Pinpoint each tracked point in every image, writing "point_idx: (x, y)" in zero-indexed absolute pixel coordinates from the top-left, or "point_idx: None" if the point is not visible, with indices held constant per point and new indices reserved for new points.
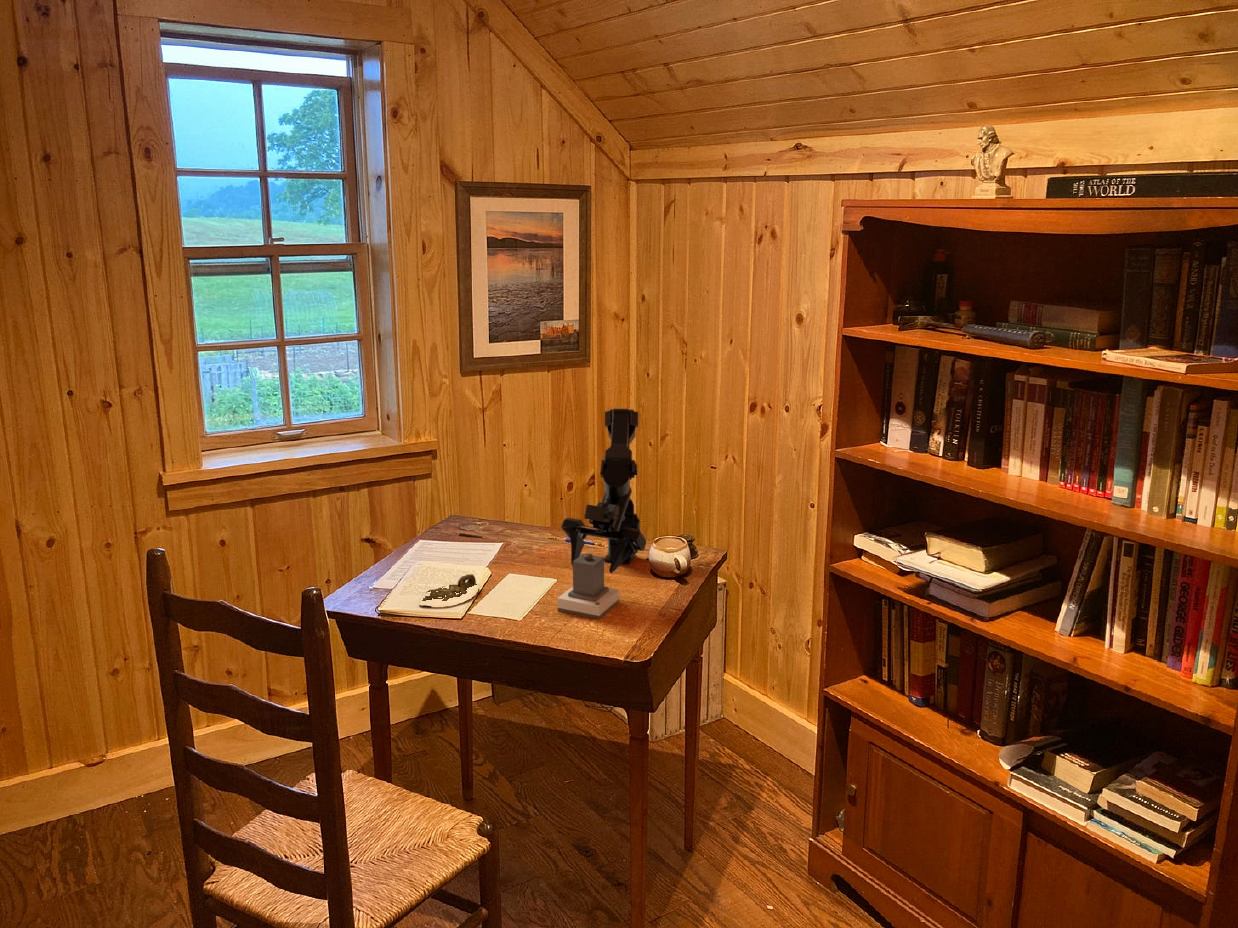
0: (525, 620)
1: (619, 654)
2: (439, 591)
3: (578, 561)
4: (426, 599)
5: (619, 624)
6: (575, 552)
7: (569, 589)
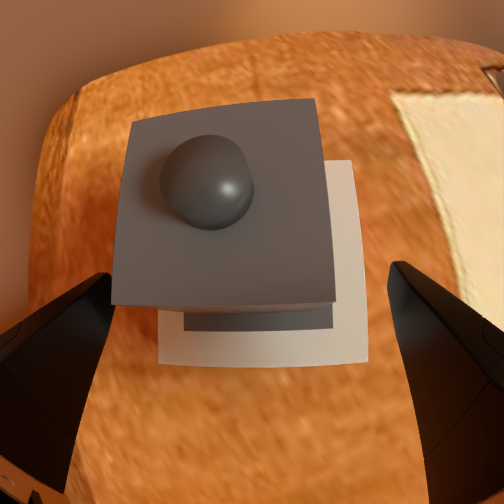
0: (379, 97)
1: (90, 89)
2: None
3: (269, 113)
4: None
5: (118, 198)
6: (430, 314)
7: (361, 260)
